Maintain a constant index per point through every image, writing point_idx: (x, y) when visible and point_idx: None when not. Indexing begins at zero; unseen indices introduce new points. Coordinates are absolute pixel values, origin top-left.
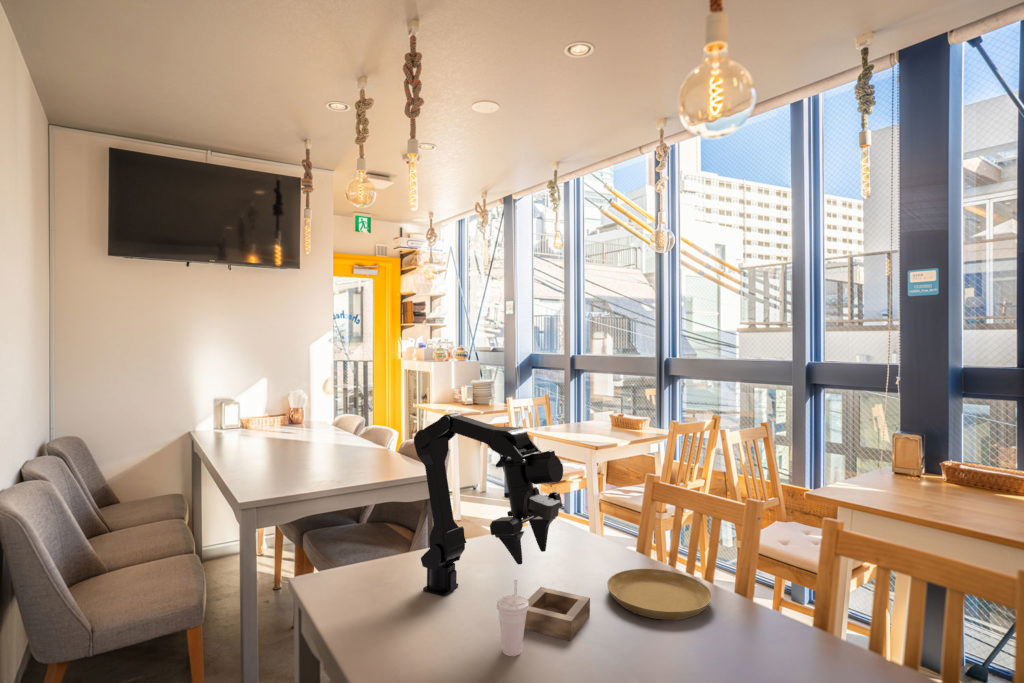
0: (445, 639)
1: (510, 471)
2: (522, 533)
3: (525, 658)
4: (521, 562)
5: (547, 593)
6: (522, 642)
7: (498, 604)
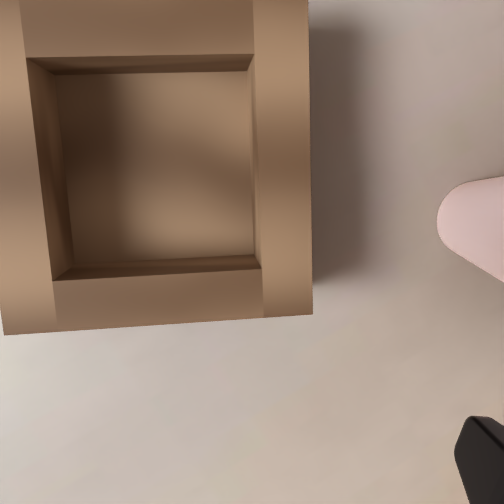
0: None
1: None
2: None
3: (496, 147)
4: (495, 425)
5: (52, 266)
6: (491, 178)
7: None
